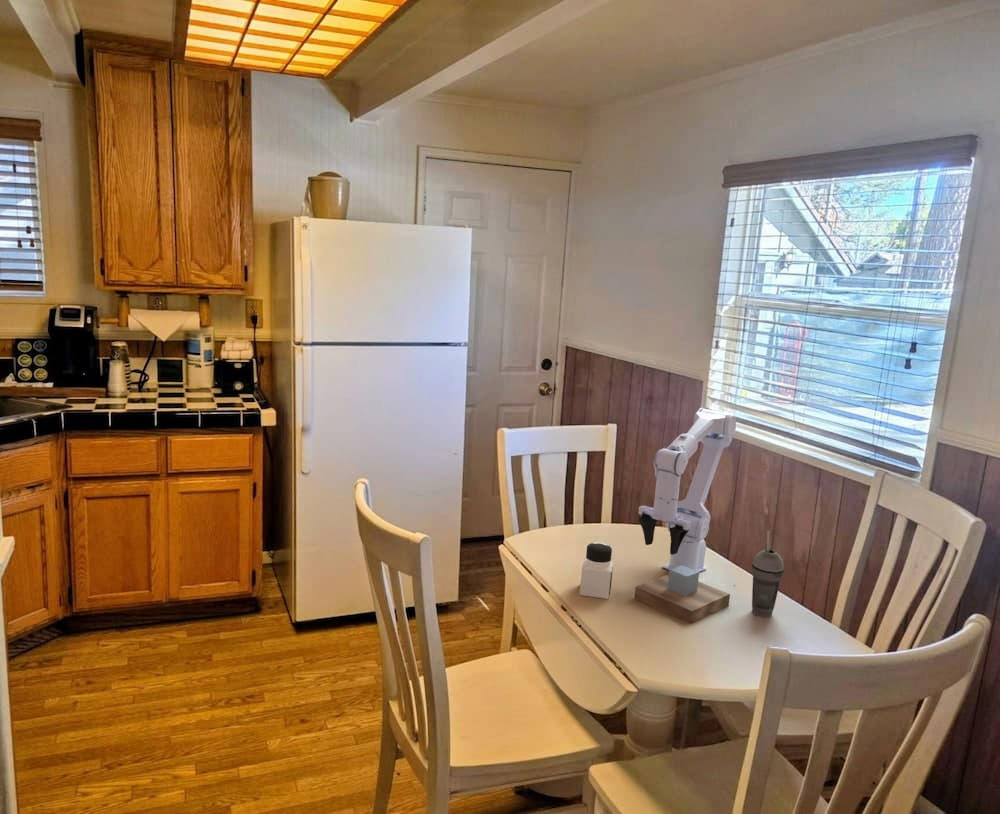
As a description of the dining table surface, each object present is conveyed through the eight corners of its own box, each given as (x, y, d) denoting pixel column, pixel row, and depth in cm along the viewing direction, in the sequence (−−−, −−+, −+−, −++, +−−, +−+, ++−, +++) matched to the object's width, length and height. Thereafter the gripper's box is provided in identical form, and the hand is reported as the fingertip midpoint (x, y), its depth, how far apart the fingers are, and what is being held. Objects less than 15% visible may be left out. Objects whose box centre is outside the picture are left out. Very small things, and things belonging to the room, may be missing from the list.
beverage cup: (762, 622, 175) (773, 539, 171) (739, 609, 181) (749, 529, 178) (784, 617, 178) (796, 536, 175) (761, 604, 184) (771, 526, 181)
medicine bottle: (609, 599, 182) (613, 552, 180) (579, 595, 183) (583, 548, 181) (610, 588, 189) (615, 542, 187) (582, 584, 190) (586, 538, 188)
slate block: (679, 584, 186) (681, 565, 185) (696, 591, 182) (699, 571, 182) (667, 589, 183) (669, 569, 182) (685, 596, 179) (687, 576, 178)
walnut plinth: (673, 582, 194) (674, 571, 194) (728, 605, 183) (730, 593, 182) (634, 598, 184) (635, 586, 183) (690, 623, 172) (692, 610, 171)
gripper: (633, 491, 191) (628, 543, 194) (681, 507, 181) (675, 561, 183) (650, 487, 196) (645, 537, 199) (698, 502, 186) (692, 555, 188)
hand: (661, 548), depth 191 cm, fingers open, 7 cm apart
